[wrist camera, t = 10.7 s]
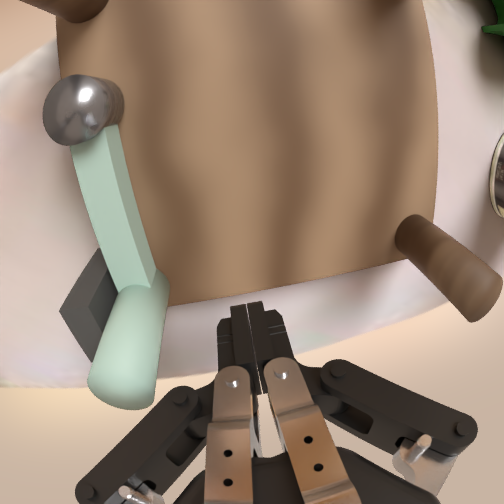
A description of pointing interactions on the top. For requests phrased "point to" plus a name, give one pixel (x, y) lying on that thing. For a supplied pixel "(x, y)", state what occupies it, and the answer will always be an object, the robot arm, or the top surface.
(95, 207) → the swing leg
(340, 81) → the stool seat
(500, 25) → the clamp
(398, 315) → the top surface
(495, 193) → the coffee can
